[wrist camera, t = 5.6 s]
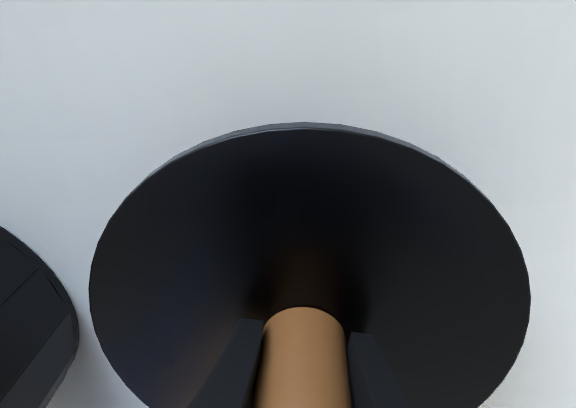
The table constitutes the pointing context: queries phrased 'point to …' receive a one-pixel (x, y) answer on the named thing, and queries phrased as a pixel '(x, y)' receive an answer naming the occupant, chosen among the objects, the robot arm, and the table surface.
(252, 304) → the pot lid
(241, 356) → the robot arm
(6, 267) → the pot
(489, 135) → the table surface
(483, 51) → the table surface
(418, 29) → the table surface
